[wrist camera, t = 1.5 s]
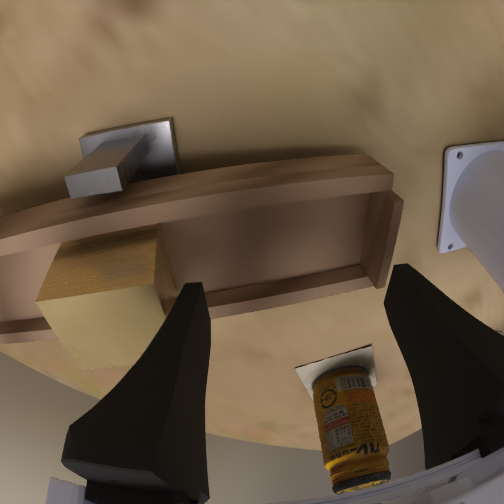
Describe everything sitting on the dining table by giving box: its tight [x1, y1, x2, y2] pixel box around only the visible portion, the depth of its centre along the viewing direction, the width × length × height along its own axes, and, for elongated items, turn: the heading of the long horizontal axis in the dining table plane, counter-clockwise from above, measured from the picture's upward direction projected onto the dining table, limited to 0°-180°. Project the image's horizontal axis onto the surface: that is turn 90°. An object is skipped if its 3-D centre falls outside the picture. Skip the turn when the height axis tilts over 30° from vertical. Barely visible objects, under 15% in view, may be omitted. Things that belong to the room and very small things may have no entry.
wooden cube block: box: [35, 223, 178, 369], centre depth 12 cm, size 4×4×4 cm
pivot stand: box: [64, 118, 181, 199], centre depth 16 cm, size 5×10×5 cm, turn 3°
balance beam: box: [0, 154, 404, 344], centre depth 14 cm, size 24×7×4 cm, turn 93°
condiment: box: [295, 346, 391, 494], centre depth 25 cm, size 7×8×12 cm
